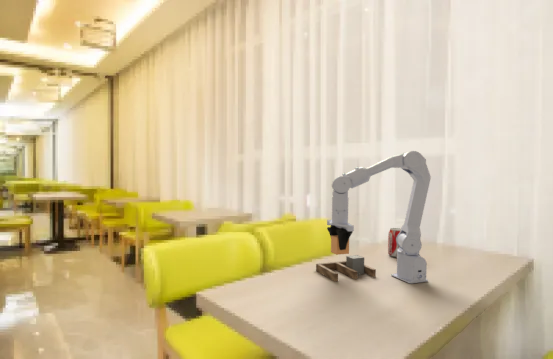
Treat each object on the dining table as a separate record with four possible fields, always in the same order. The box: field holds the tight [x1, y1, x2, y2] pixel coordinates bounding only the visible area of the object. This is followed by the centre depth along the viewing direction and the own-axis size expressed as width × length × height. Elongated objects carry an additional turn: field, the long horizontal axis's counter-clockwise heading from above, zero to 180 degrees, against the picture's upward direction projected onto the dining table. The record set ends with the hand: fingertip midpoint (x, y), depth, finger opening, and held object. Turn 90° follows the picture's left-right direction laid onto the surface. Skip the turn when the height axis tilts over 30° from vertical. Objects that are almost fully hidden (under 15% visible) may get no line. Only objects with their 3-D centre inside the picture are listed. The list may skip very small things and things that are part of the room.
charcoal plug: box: [345, 254, 365, 276], centre depth 121 cm, size 4×5×6 cm
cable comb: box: [315, 260, 377, 282], centre depth 120 cm, size 13×17×2 cm
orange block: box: [330, 235, 350, 256], centre depth 119 cm, size 4×5×6 cm
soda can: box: [387, 227, 401, 259], centre depth 147 cm, size 7×7×12 cm
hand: (339, 248), depth 119 cm, fingers closed on orange block, 4 cm apart
